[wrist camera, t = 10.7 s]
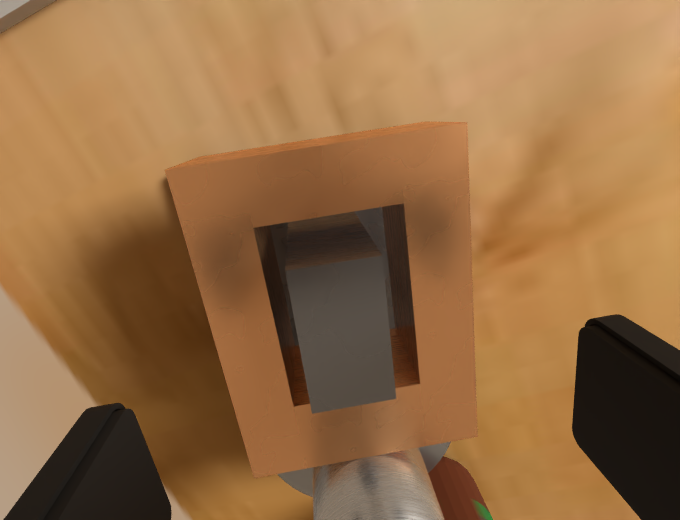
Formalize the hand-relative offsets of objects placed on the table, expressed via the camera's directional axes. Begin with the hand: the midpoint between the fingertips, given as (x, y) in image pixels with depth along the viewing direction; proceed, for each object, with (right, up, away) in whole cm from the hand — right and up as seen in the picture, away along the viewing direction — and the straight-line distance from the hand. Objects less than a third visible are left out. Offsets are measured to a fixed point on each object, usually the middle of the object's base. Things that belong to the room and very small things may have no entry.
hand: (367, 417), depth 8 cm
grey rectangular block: (-2, +5, +13) cm, 14 cm away
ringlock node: (-1, +1, +15) cm, 15 cm away
